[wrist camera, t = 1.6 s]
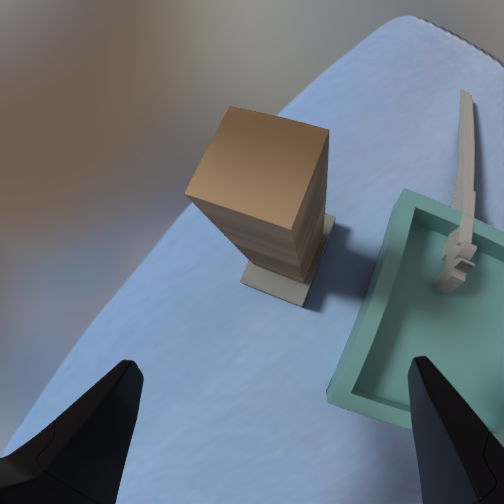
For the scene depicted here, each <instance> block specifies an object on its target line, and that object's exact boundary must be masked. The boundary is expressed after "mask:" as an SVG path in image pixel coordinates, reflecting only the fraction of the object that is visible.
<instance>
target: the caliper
mask: <svg viewBox="0 0 504 504" xmlns="http://www.w3.org/2000/svg"><path fill="white" fill-rule="evenodd" d="M474 158H475V149H474V117H473V103H472V95H470V93H469V92H467V91H464V90H462V89H460V112H459V151H458V169H457V182H456V193H455V200H454V201H453V203H452V204H451V208H453V209H456V210H458V211H460V212H462V217H461V223H460V226H459V227H458V228H457V229H455V230H454V231H453V232H452V233H450V234H449V235H448V240H447V242H446V243H445V245H444V249H443V254H442V258H441V260H442V261H445V268H444V270H443V271H442V272H440V273H439V274H438V275H437V277H436V281H435V284H434V288H433V289H434V290H436V291H439V292H441V293H444V294H446V293H450V292H452V291H453V290H454V289H456V288H457V287H458V286H460V285H461V284H462V283H463V282H464V281H465V278H466V273H467V272H468V271H469V270H470V269H472V268H473V267H474V266H475V264H474V263H472V262H470V259H471V258H472V256H473V255H474V253H475V251H476V250H477V246H475V245H473V244H471V242H472V233H473V223H474V211H475V194H476V192H475V191H473V190H474ZM463 213H465V214H467V215H465V214H463ZM468 215H469V216H468ZM470 216H471V217H470ZM472 217H473V218H472Z"/></svg>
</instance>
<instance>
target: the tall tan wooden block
mask: <svg viewBox="0 0 504 504" xmlns="http://www.w3.org/2000/svg"><path fill="white" fill-rule="evenodd" d="M328 151H329V130H328V129H324V128H321V127H317V126H313V125H310V124H306V123H302V122H298V121H294V120H290V119H286V118H282V117H278V116H274V115H269V114H265V113H260V112H256V111H251V110H246V109H241V108H236V107H230V108H229V109H228V111H227V113H226V115H225V116H224V118H223V120H222V122H221V124H220V125H219V127H218V129H217V131H216V133H215V135H214V137H213V139H212V140H211V142H210V144H209V146H208V148H207V150H206V152H205V154H204V156H203V157H202V159H201V161H200V163H199V165H198V167H197V169H196V171H195V174H194V175H193V177H192V179H191V181H190V183H189V185H188V187H187V189H186V191H185V195H186V196H187V197H188V198H189V199H190V200H191V201H192V202H193V203H194V204H195V205H196V206H197V207H198V208H199V209H200V210H201V211H202V212H203V213H204V214H205V216H206V217H207V218H208V219H209V220H210V221H211V222H212V223H213V224H214V225H215V226H216V227H217V228H218V229H219V230H220V231H221V232H222V233H223V234H224V235H225V236H226V237H227V238H228V239H229V240H230V241H231V242H232V243H233V244H234V245H235V246H236V247H237V248H238V249H239V250H240V251H241V252H242V253H243V254H244V255H245V256H246V257H247V258H248V259H249V261H248V264H247V266H246V269H245V271H244V273H243V276H242V278H241V280H240V282H241V283H243V284H245V285H247V286H249V287H252V288H254V289H257V290H259V291H262V292H264V293H267V294H269V295H272V296H274V297H277V298H279V299H282V300H284V301H287V302H290V303H292V304H295V305H297V306H300V307H302V308H303V305H304V303H305V300H306V298H307V295H308V293H309V290H310V287H311V285H312V282H313V280H314V277H315V275H316V272H317V269H318V267H319V264H320V261H321V259H322V256H323V253H324V251H325V248H326V245H327V243H328V240H329V237H330V234H331V232H332V229H333V226H334V223H335V216H332V215H329V214H326V213H325V204H326V189H327V172H328Z"/></svg>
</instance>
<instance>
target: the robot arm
mask: <svg viewBox="0 0 504 504" xmlns="http://www.w3.org/2000/svg"><path fill="white" fill-rule="evenodd" d="M143 381H144V378H143V374H142V372H141V371H140V369H139V368H138V366H137V364H136V363H135V362H134V361H133V360H122V361H121V362H120V363H118V364H117V365H116V366H115V367H114V368H113V369H112V370H111V371H109V372H108V373H107V374H106V375H105V376H104V377H103V378H101V379H100V380H99V381H98V382H97V383H96V384H95V385H93V386H92V387H91V388H90V389H89V390H88V391H87V392H86V393H84V394H83V395H82V396H81V397H80V398H79V399H78V400H76V401H75V402H74V403H73V404H72V405H71V406H70V407H69V408H67V409H66V410H65V411H64V412H63V413H62V414H61V415H60V416H58V417H57V418H56V420H54V421H53V422H52V423H50V424H49V425H48V426H47V427H46V428H45V429H43V430H42V431H41V432H40V433H39V434H37V435H36V436H35V437H33V438H32V439H31V440H29V441H28V442H27V443H25V444H24V445H22V446H21V447H20V448H18V449H17V450H15V451H14V452H13V453H11V454H10V455H8V456H6V457H3V458H0V504H115V503H116V499H117V494H118V490H119V486H120V482H121V478H122V473H123V469H124V465H125V462H126V458H127V454H128V450H129V446H130V442H131V439H132V435H133V431H134V428H135V424H136V420H137V416H138V410H139V404H140V398H141V393H142V387H143ZM408 389H409V400H410V413H411V423H412V430H413V435H414V441H415V447H416V453H417V460H418V467H419V474H420V482H421V490H422V500H423V504H504V447H503V446H502V444H501V443H500V442H499V441H498V440H497V438H496V437H495V436H494V435H493V433H492V432H491V431H489V429H488V427H487V426H486V425H485V424H484V422H483V421H482V420H481V419H480V418H479V416H478V415H477V414H476V413H475V411H474V410H473V409H472V408H471V407H470V405H469V404H468V403H467V402H466V401H465V400H464V398H463V397H462V396H461V395H460V394H459V392H458V391H457V390H456V389H455V388H454V387H453V385H452V384H451V383H450V382H449V381H448V380H447V379H446V377H445V376H444V375H443V374H442V373H441V372H440V371H439V369H438V368H437V367H436V366H435V365H434V364H433V363H432V362H431V360H430V359H429V358H428V357H427V356H417V357H414V358H413V360H412V362H411V365H410V368H409V371H408Z"/></svg>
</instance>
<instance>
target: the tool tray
mask: <svg viewBox="0 0 504 504" xmlns="http://www.w3.org/2000/svg"><path fill="white" fill-rule="evenodd" d="M463 214H465V213H463ZM465 215H467V214H465ZM468 216H469V215H468ZM461 217H462V212H460V211H458V210H456V209H453V208H451V207H449V206H447V205H444V204H442V203H440V202H437V201H435V200H433V199H430V198H428V197H425V196H423V195H420V194H418V193H415V192H413V191H410V190H408V189H405V188H404V190H403V191H402V193H401V195H400V197H399V198H398V200H397V202H396V203H395V205H394V206H393V209H392V213H391V216H390V220H389V223H388V227H387V230H386V234H385V237H384V240H383V244H382V247H381V250H380V253H379V256H378V259H377V263H376V266H375V269H374V272H373V275H372V278H371V280H370V283H369V286H368V289H367V292H366V295H365V297H364V300H363V303H362V306H361V308H360V311H359V314H358V316H357V319H356V322H355V324H354V327H353V329H352V332H351V334H350V337H349V339H348V342H347V344H346V347H345V349H344V351H343V354H342V356H341V359H340V361H339V363H338V365H337V368H336V370H335V372H334V375H333V377H332V379H331V381H330V383H329V386H328V388H327V390H326V394H327V399H328V403H330V404H333V405H336V406H339V407H341V408H344V409H347V410H350V411H353V412H356V413H359V414H362V415H365V416H368V417H371V418H375V419H378V420H381V421H384V422H388V423H391V424H394V425H398V426H401V427H405V428H408V429H412V423H411V413H410V400H409V389H408V371H409V368H410V365H411V362H412V360H413V358H414V357H417V356H427V357H428V358H429V359H430V360H431V362H432V363H433V364H434V365H435V366H436V367H437V368H438V369H439V371H440V372H441V373H442V374H443V375H444V376H445V377H446V379H447V380H448V381H449V382H450V383H451V384H452V385H453V387H454V388H455V389H456V390H457V391H458V392H459V394H460V395H461V396H462V397H463V398H464V400H465V401H466V402H467V403H468V404H469V405H470V407H471V408H472V409H473V410H474V411H475V413H476V414H477V415H478V416H479V418H480V419H481V420H482V421H483V422H484V424H485V425H486V426H487V427H488V429H489V431H491V432H492V433H493V435H494V436H495V437H496V438H497V440H498V441H499V442H500V443H501V444H502V446H503V445H504V232H502V231H500V230H498V229H496V228H494V227H492V226H490V225H488V224H486V223H484V222H482V221H480V220H478V219H475V218H474V223H473V233H472V242H471V244H473V245H475V246H477V250H476V251H475V253H474V255H473V256H472V258H471V259H470V262H472V263H474V264H475V266H474V267H473V268H472V269H470V270H469V271H468V272H467V273H466V278H465V281H464V282H463V283H462V284H461V285H460V286H458V287H457V288H456V289H454V290H453V291H452V292H450V293H446V294H444V293H441V292H439V291H436V290H434V289H433V288H434V284H435V281H436V277H437V275H438V274H439V273H440V272H442V271H443V270H444V268H445V261H442V260H441V258H442V254H443V249H444V245H445V243H446V242H447V240H448V235H449V234H450V233H452V232H453V231H454V230H455V229H457V228H458V227H459V226H460V223H461ZM470 217H471V216H470ZM472 218H473V217H472Z"/></svg>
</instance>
